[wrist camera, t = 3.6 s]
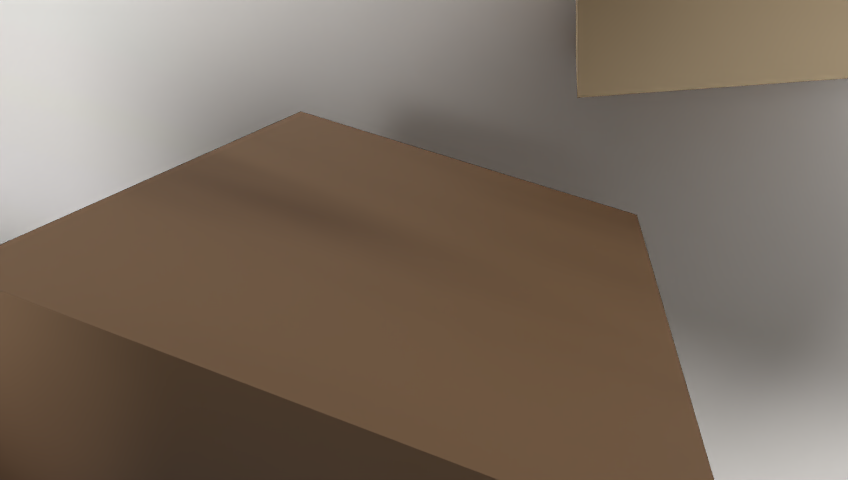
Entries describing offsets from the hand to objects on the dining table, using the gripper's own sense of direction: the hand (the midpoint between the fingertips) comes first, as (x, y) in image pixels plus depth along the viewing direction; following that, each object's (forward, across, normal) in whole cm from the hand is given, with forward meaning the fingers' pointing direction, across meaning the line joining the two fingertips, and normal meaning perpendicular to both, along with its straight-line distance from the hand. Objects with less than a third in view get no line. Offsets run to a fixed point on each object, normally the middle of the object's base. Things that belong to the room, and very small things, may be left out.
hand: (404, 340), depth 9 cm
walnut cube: (+1, 0, 0) cm, 1 cm away
